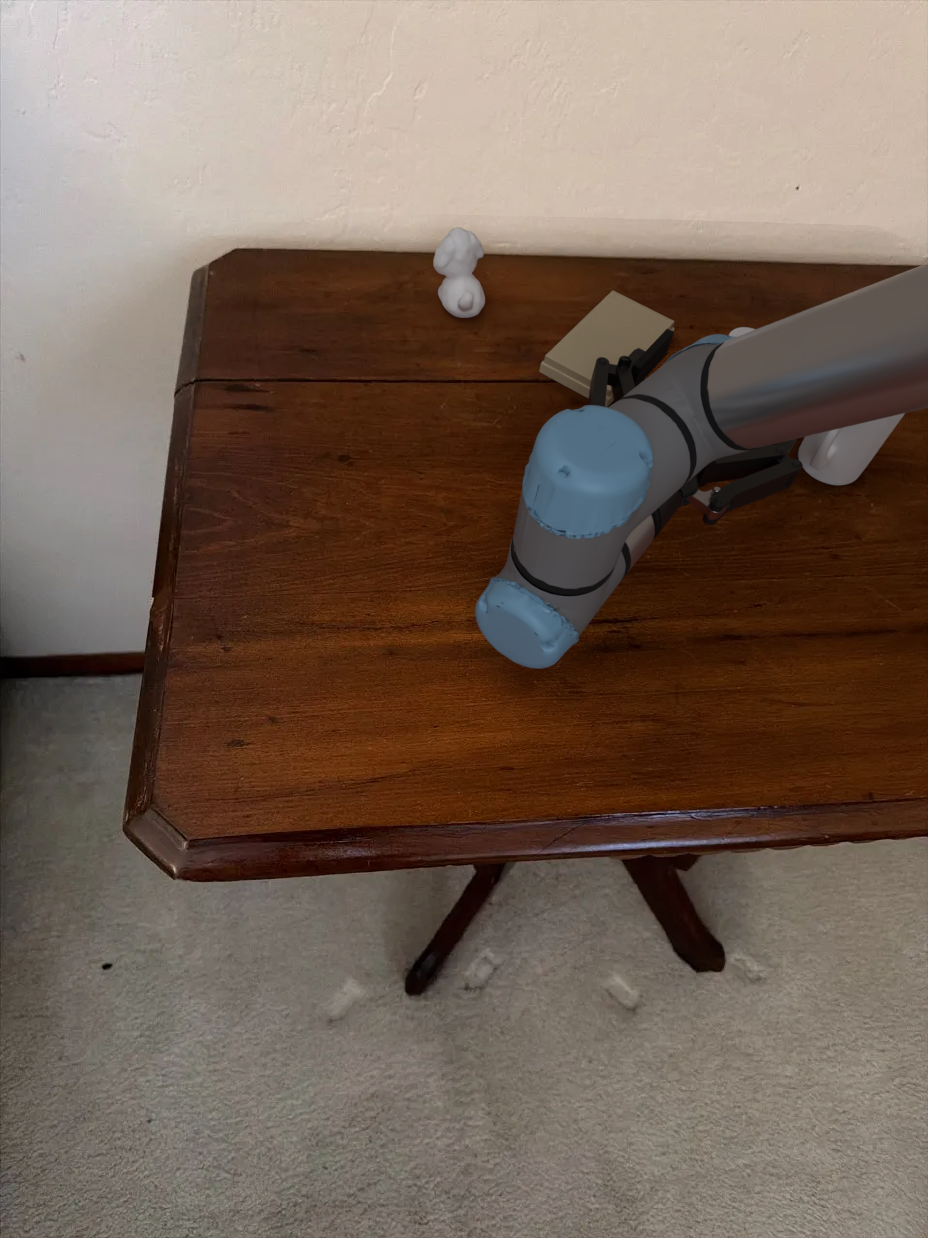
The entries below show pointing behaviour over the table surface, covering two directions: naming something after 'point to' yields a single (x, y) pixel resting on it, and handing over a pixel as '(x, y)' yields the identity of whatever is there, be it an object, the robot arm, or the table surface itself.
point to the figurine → (460, 273)
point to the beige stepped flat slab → (603, 341)
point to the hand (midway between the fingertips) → (730, 374)
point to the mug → (844, 450)
